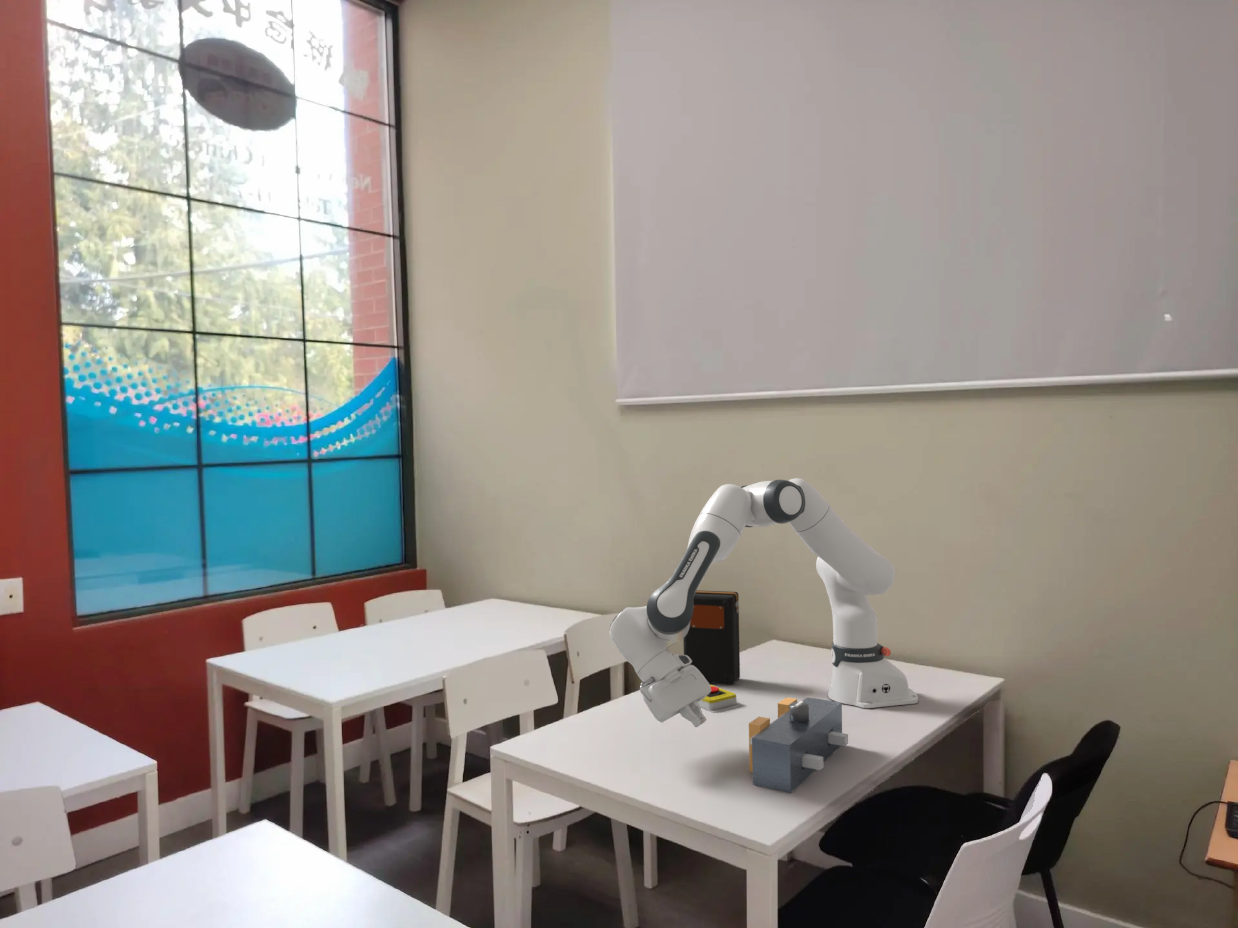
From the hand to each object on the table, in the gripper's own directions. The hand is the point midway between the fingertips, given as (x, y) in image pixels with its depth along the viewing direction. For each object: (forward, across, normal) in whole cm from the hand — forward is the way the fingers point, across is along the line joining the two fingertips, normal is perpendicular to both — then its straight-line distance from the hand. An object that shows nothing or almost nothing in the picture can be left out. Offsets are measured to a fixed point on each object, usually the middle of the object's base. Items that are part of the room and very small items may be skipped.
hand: (701, 723), depth 189 cm
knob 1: (+19, 0, -9) cm, 21 cm away
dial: (+12, +7, -15) cm, 21 cm away
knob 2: (+19, +15, -9) cm, 26 cm away
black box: (-12, +53, +23) cm, 59 cm away
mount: (+19, +7, -8) cm, 22 cm away
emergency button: (-6, +35, +18) cm, 40 cm away
